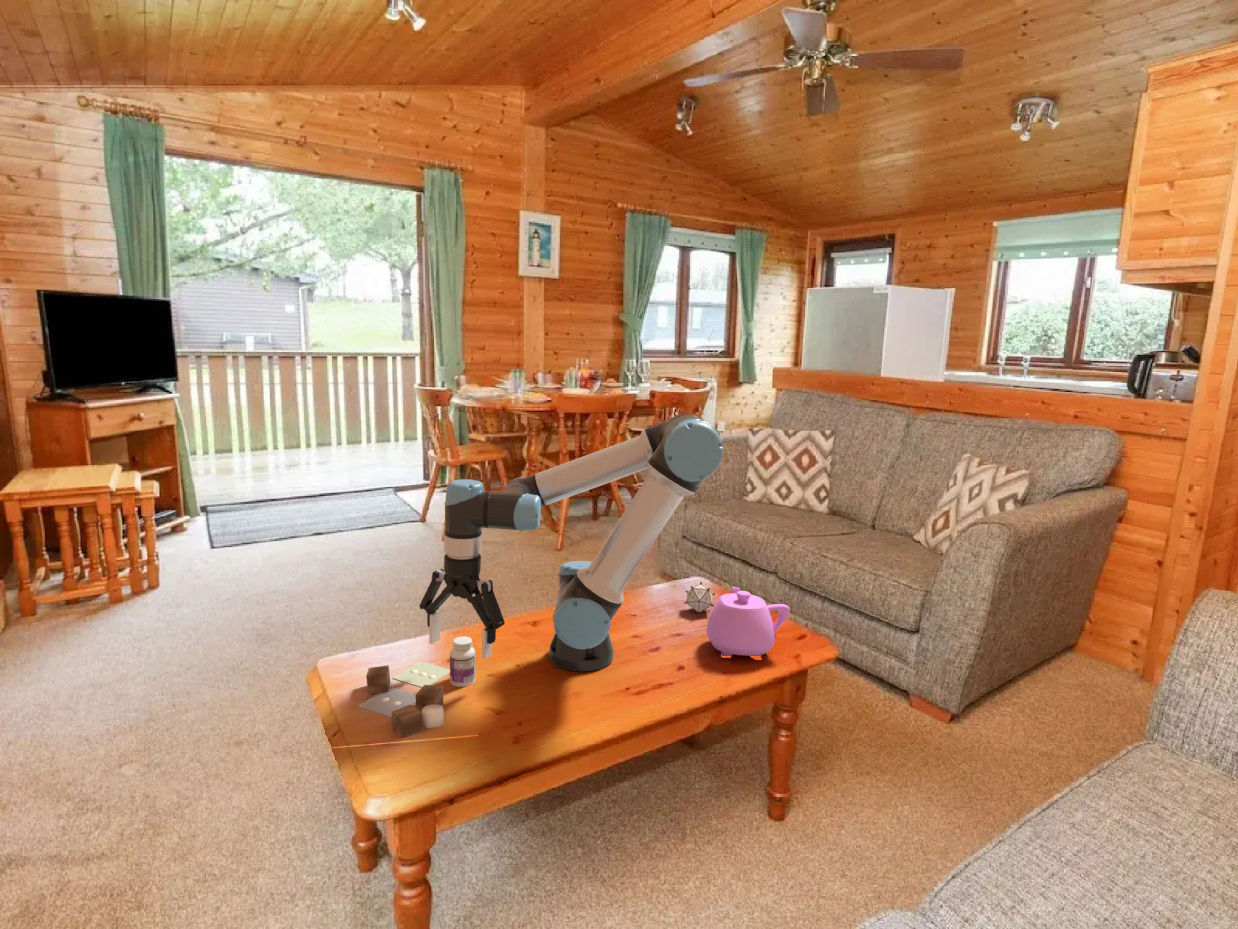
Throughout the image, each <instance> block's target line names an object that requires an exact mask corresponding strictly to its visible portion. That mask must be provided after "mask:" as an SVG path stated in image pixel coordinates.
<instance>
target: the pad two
mask: <svg viewBox="0 0 1238 929" xmlns="http://www.w3.org/2000/svg"><path fill="white" fill-rule="evenodd" d="M416 694H417V693H413V692H409V691H406V690H404V689H400V688H396V687H393V686H391V685H390V687H389V692H382V693H375V694H374V695H373V696H372V697H370V698H369V699H367V700H365V701H364V702H362V703H360V704H359V705H357V708H360V709H363V710H366V711H369V712H372V713H375V714H377V715H381V716H384V717H386V718H387V717H388V718H390V719H392V711H395V710H397V709H400V708H403V707H405V706H408V705H410V704H411V705H413V706H414V705H416Z"/></svg>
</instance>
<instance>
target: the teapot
mask: <svg viewBox="0 0 1238 929" xmlns="http://www.w3.org/2000/svg"><path fill="white" fill-rule="evenodd" d="M713 605H714V607H713V606H712V609H711V611H710V614H709V617H708V619H707V625H706V635H707V637H708V640H709V641H710V643H711V644H712V646H713V648H715V649H716V650H717V651H719V652H720V654H721V655H722V656H732V655H733V656H734V655H736V656H746V657H747V656H749V657H750V655H751V656H762V655H765V654H767V653H768V652H769V651H770V650H771V649H772V648H773V647H774V645H775V643H776V642H775V641H776V631H777V630H778V629H780V627H781V626H782V625H783V624H784V623H785V621H786V620H787V619H788V617H789V615H790V610H791V609H790V607H789V606H788V605H787V604H784V603H774V604H769V605H767V603H766V601H765V600H764V599H763V598H762V597H760V596H758V595H754V594H751V592H748V591H747V590H740V587H738V586H733V587H732V592H731V593H725V594H722V595H721V596H720V597H719V598H718V599H717V601H716V602H715V603H714V604H713ZM770 611H780V612H779V615H778V617H777V620H776V621H775V622H774V620H773V617H772V614H771V612H770ZM733 656H732V657H733Z"/></svg>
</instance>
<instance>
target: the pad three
mask: <svg viewBox="0 0 1238 929" xmlns="http://www.w3.org/2000/svg"><path fill="white" fill-rule="evenodd" d="M447 675H450V668H446V667H441V666H438V665H436V664H433V663H428V662H424V661H422V660H421V661H420V660H419V662H417V663H415V664H414V665H411V666H410V667H409V668H407V669H405V670H403V671H402V672H399V674H397V675H395V676H393V677H392V680H396V681H399V682H401V683H406V684H409V685H412V686H415V687H419V688H420V689H421V688H422V687H423V686H424V685H431V686H434V684H436V683H437V682H438V681H440V680H442V679H444V677H447Z"/></svg>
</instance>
